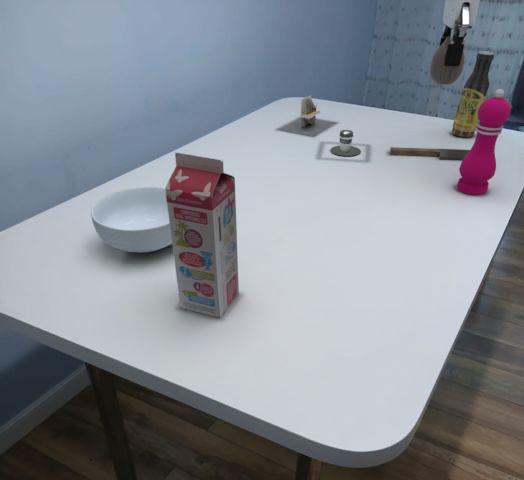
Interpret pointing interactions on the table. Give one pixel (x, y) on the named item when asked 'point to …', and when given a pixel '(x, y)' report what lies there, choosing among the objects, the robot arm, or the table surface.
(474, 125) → the sauce bottle
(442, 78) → the vase
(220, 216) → the juice carton
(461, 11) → the robot arm
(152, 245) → the cereal bowl
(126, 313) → the table surface
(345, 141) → the grey round knobbed disc
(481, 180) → the pepper mill
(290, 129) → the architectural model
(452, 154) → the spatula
